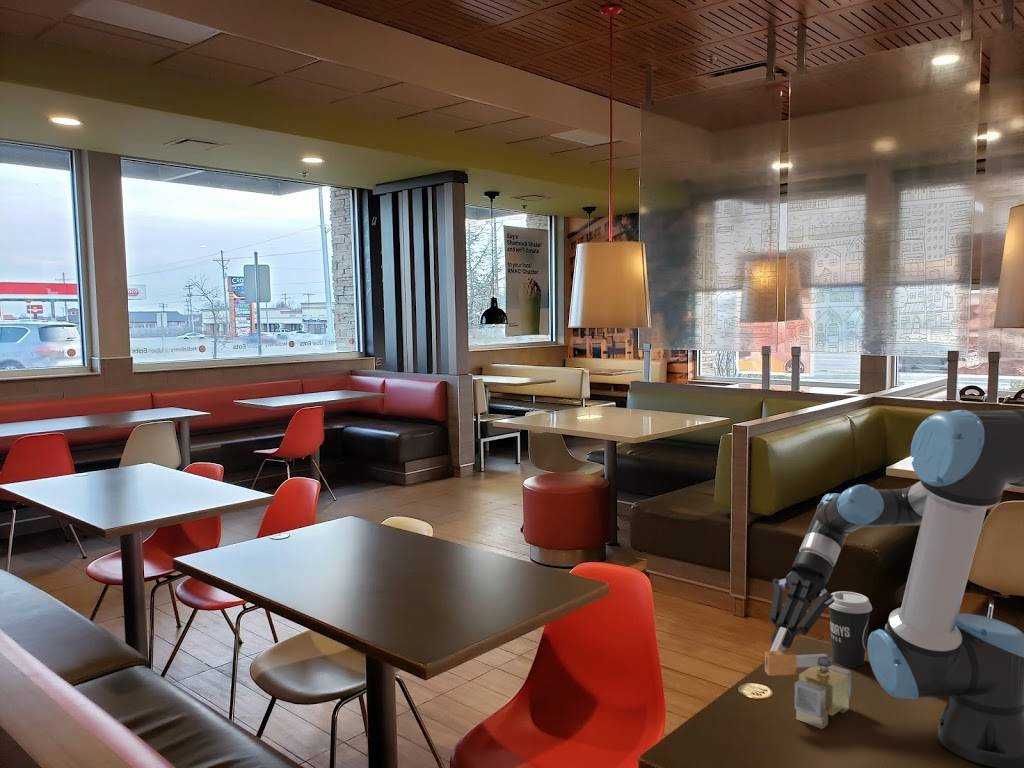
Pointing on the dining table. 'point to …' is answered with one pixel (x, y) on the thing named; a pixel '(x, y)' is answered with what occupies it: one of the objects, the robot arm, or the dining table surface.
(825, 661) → the lever
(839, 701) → the valve body
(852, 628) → the coffee cup
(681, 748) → the dining table surface
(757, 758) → the dining table surface
